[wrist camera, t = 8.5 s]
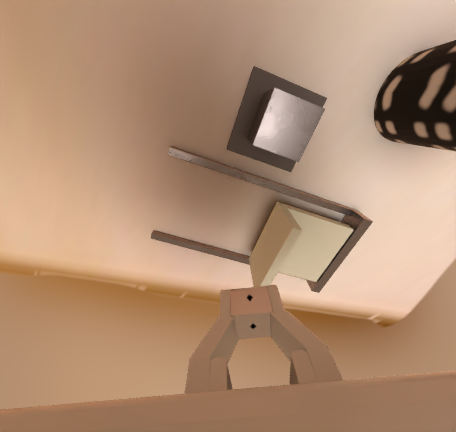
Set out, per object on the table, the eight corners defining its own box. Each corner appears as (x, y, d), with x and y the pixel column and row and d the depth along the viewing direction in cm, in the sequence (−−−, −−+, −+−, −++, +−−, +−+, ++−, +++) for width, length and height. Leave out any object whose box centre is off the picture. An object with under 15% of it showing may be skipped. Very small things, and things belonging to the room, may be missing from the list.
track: (152, 235, 28) (144, 247, 25) (171, 146, 23) (163, 150, 20) (311, 277, 32) (318, 292, 29) (357, 210, 27) (372, 221, 24)
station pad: (226, 148, 23) (226, 149, 22) (253, 67, 19) (254, 66, 19) (289, 171, 24) (290, 172, 24) (325, 98, 21) (327, 98, 20)
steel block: (247, 138, 22) (252, 145, 18) (263, 93, 20) (274, 87, 16) (284, 152, 23) (298, 161, 18) (303, 110, 21) (324, 108, 16)
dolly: (247, 251, 29) (255, 294, 22) (274, 196, 25) (293, 227, 18) (308, 268, 31) (333, 313, 24) (341, 219, 27) (382, 255, 20)
